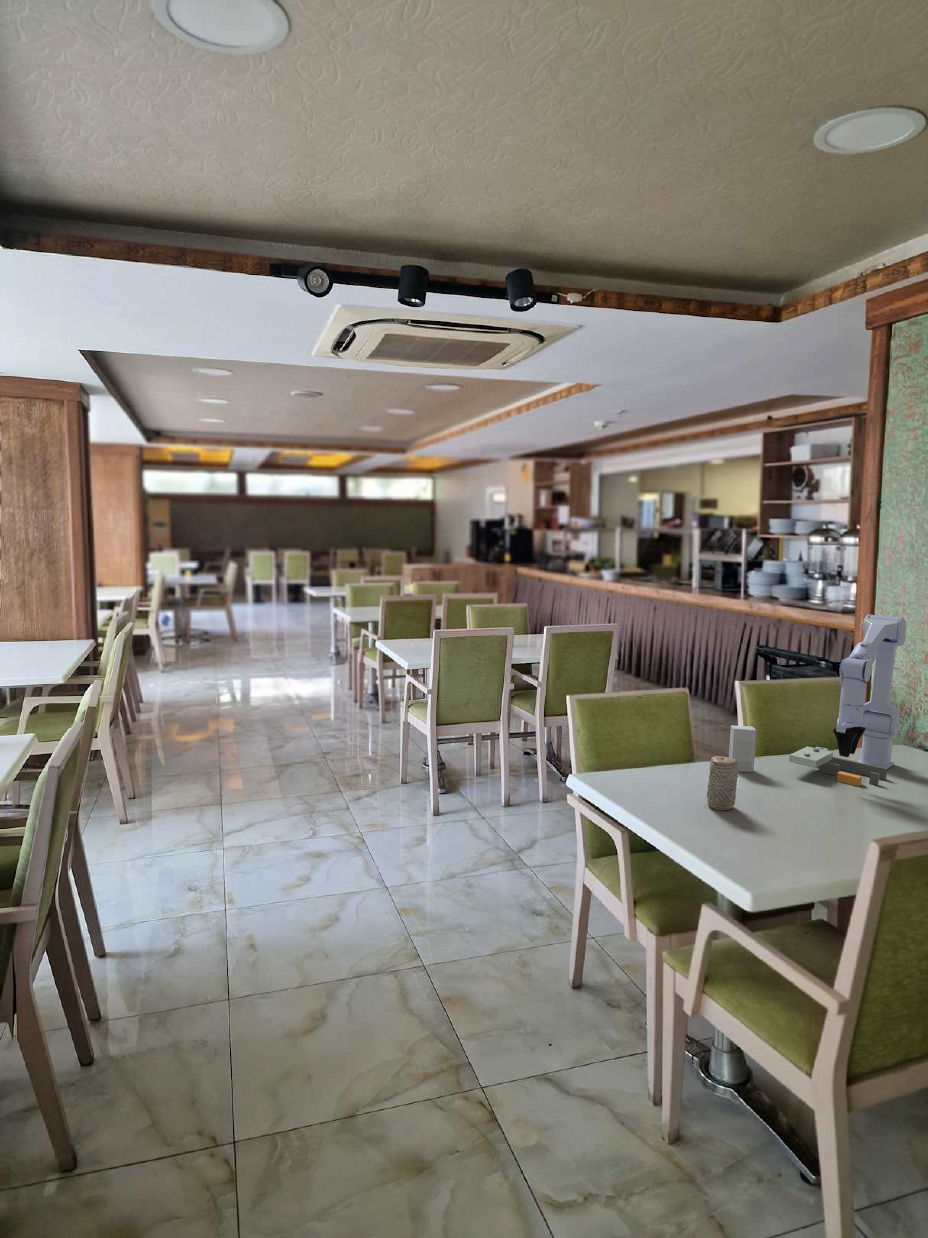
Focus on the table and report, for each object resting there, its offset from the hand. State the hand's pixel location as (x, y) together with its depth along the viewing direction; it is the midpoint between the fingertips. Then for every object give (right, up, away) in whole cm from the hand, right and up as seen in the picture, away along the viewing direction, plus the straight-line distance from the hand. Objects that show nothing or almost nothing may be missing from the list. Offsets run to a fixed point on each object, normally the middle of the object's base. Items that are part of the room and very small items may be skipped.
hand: (846, 754), depth 202 cm
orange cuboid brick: (+2, -8, +4) cm, 10 cm away
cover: (-4, -7, +12) cm, 14 cm away
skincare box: (-24, -6, +12) cm, 27 cm away
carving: (-40, -9, -19) cm, 45 cm away
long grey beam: (+7, -8, +10) cm, 14 cm away
